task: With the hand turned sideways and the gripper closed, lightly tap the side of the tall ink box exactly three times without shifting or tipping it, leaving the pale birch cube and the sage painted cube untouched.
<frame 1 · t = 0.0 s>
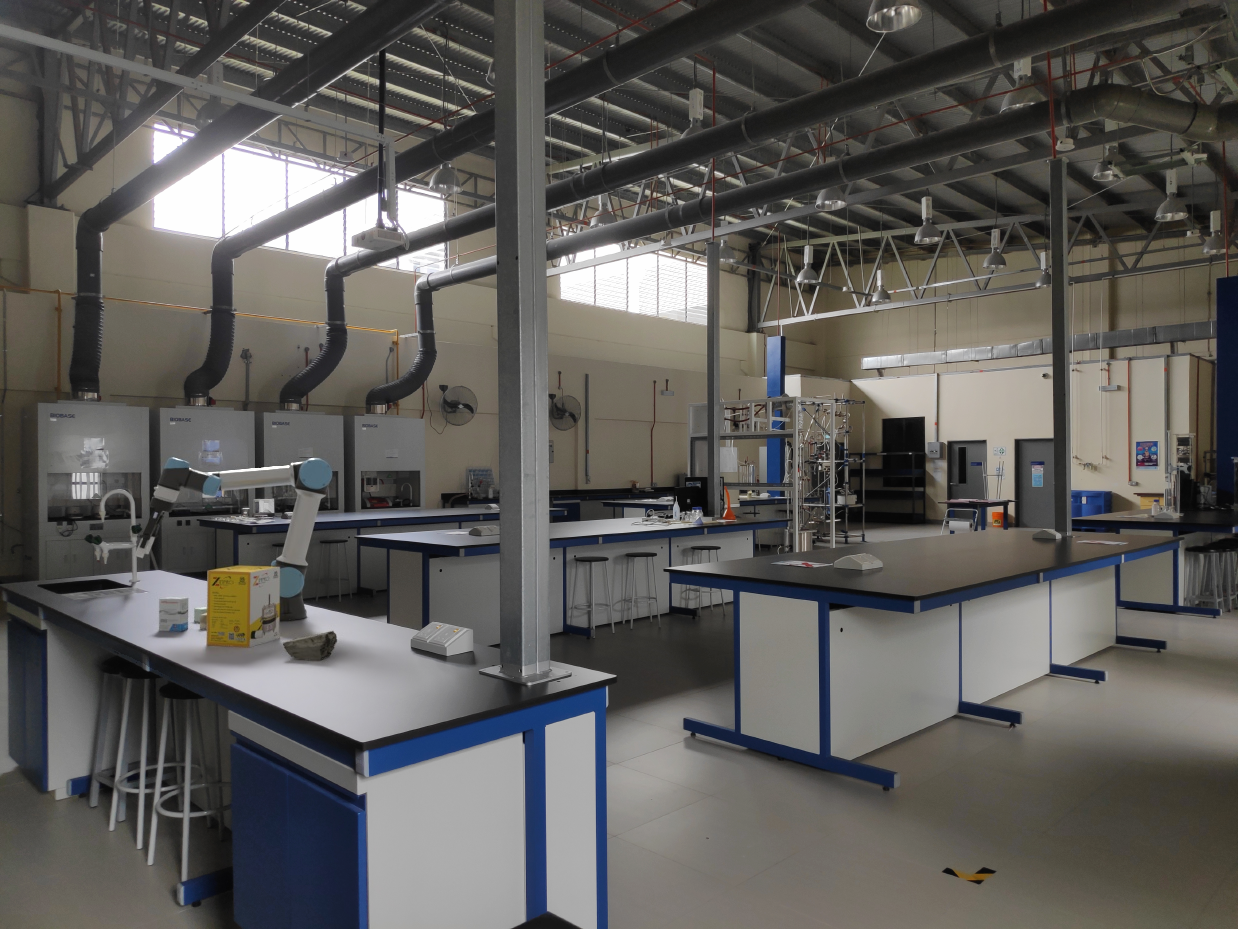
hand: (141, 555, 292), 28 cm above the table, fingers open, 13 cm apart
sage cube: (203, 620, 315), on the table
packaging box: (243, 642, 278), on the table
birch cube: (210, 627, 302), on the table
concrete fragment: (314, 657, 256), on the table
ink box: (173, 630, 296), on the table
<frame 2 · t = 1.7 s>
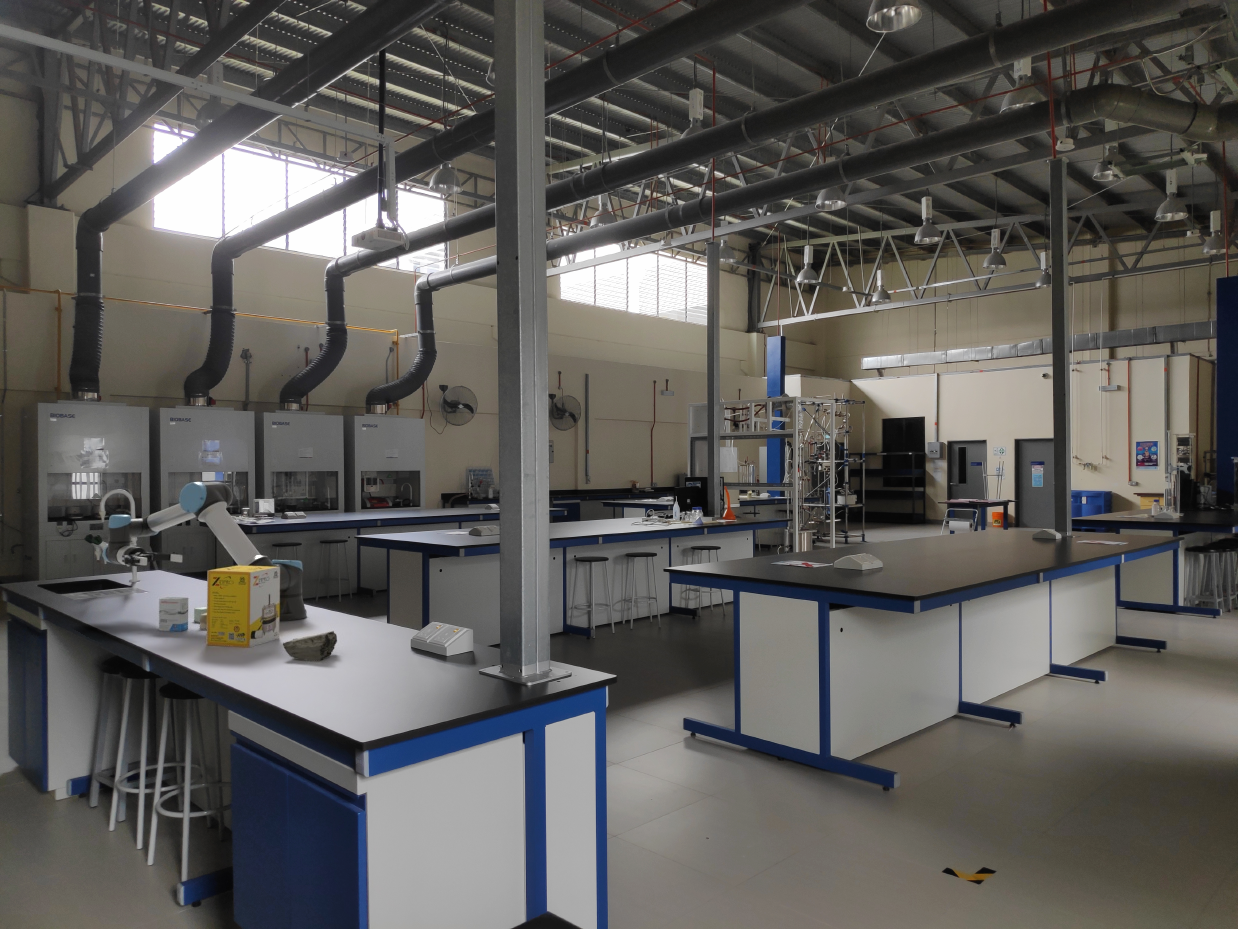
hand: (164, 560, 306), 24 cm above the table, fingers open, 13 cm apart
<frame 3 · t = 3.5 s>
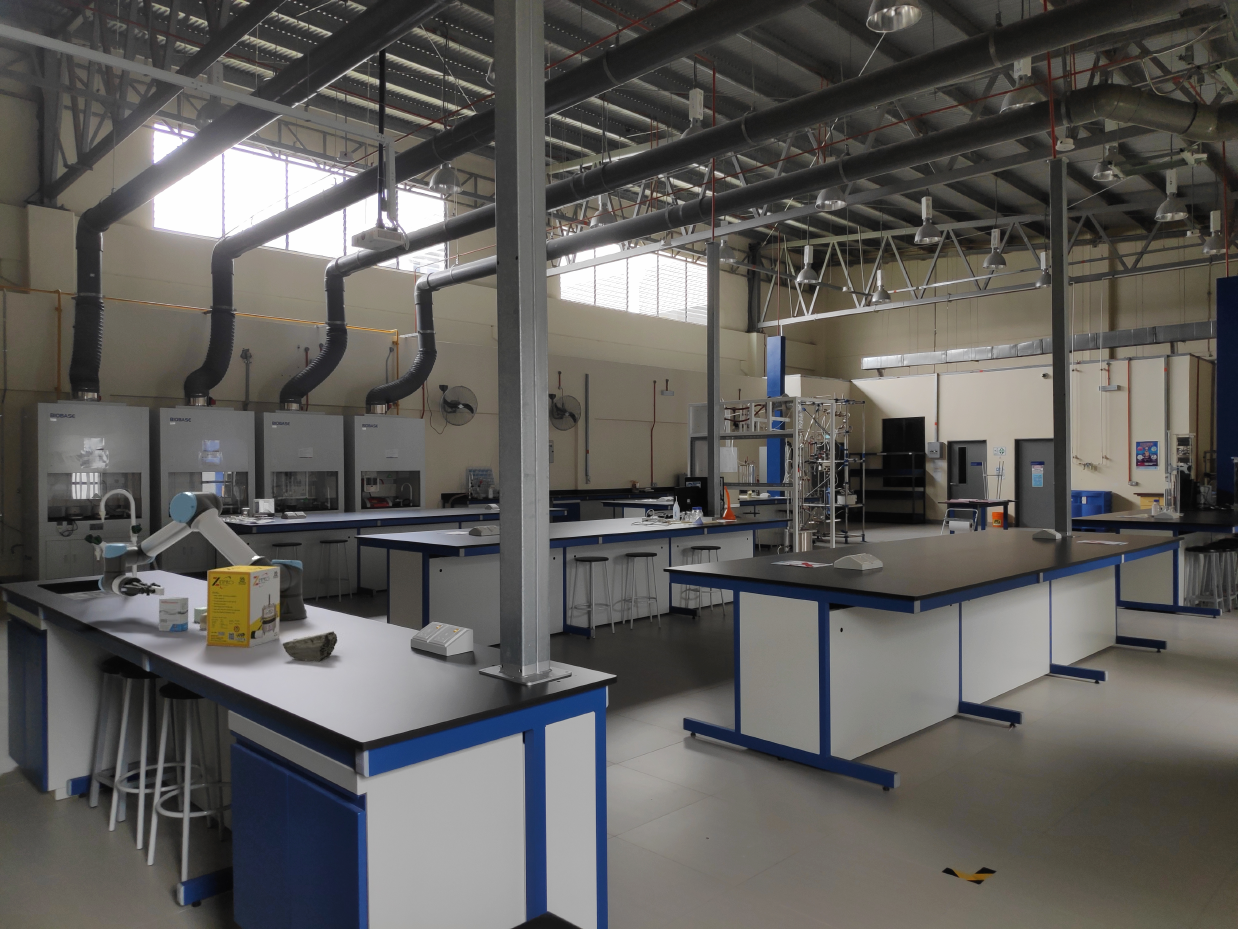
hand: (162, 591, 302), 13 cm above the table, fingers closed
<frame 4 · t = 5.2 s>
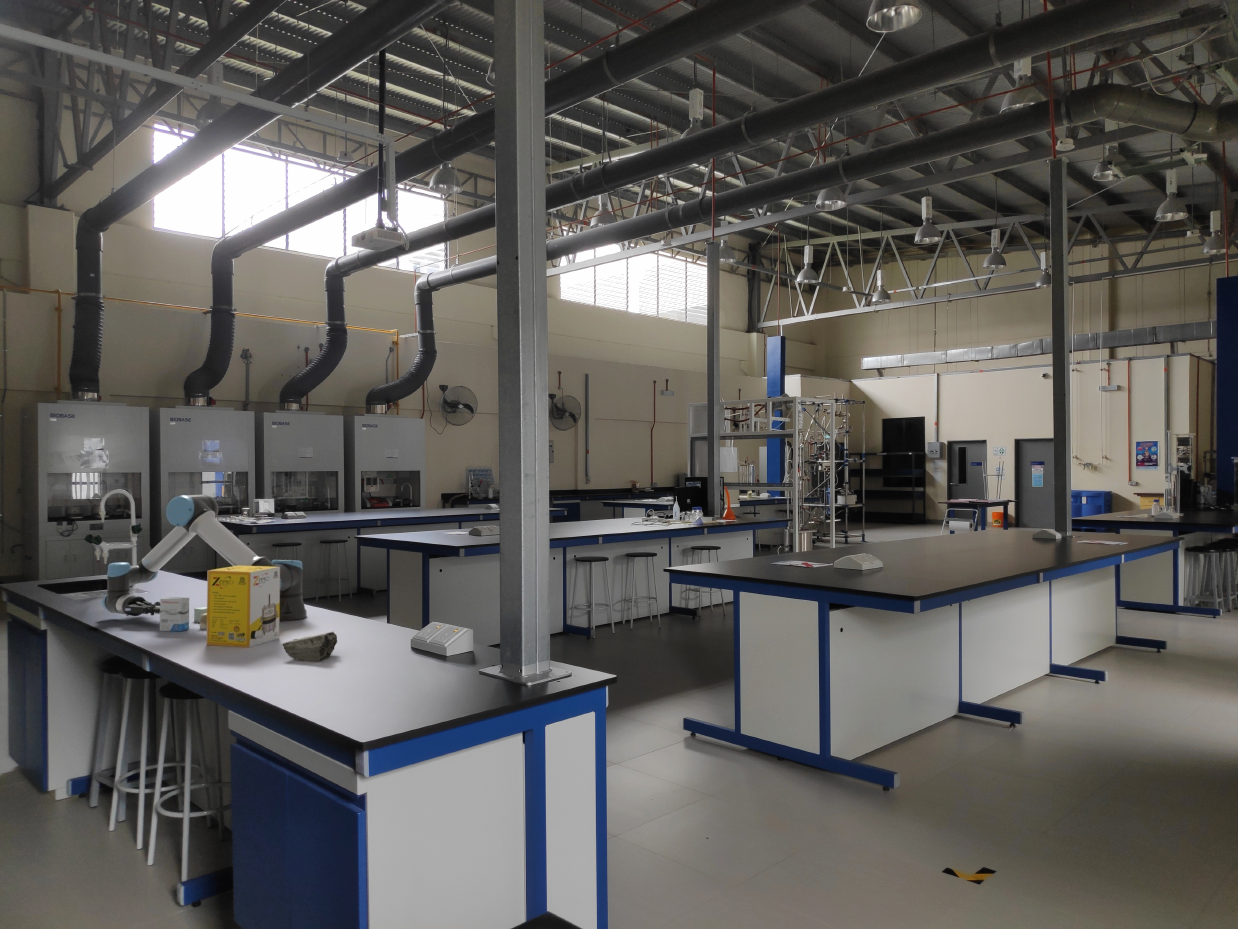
hand: (166, 611, 299), 6 cm above the table, fingers closed
ink box: (174, 630, 296), on the table, touching gripper
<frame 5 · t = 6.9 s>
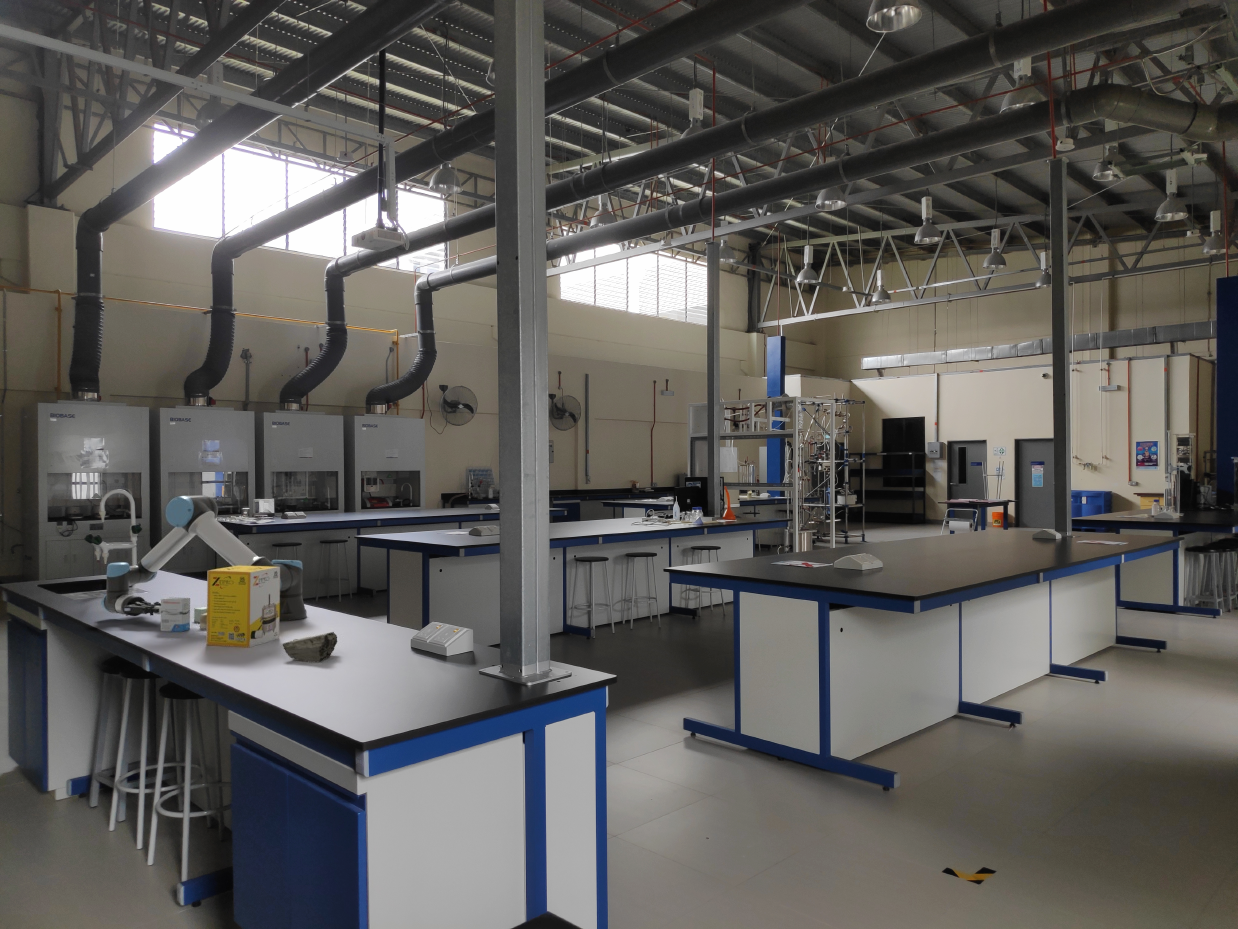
hand: (166, 611, 299), 6 cm above the table, fingers closed
ink box: (175, 630, 296), on the table
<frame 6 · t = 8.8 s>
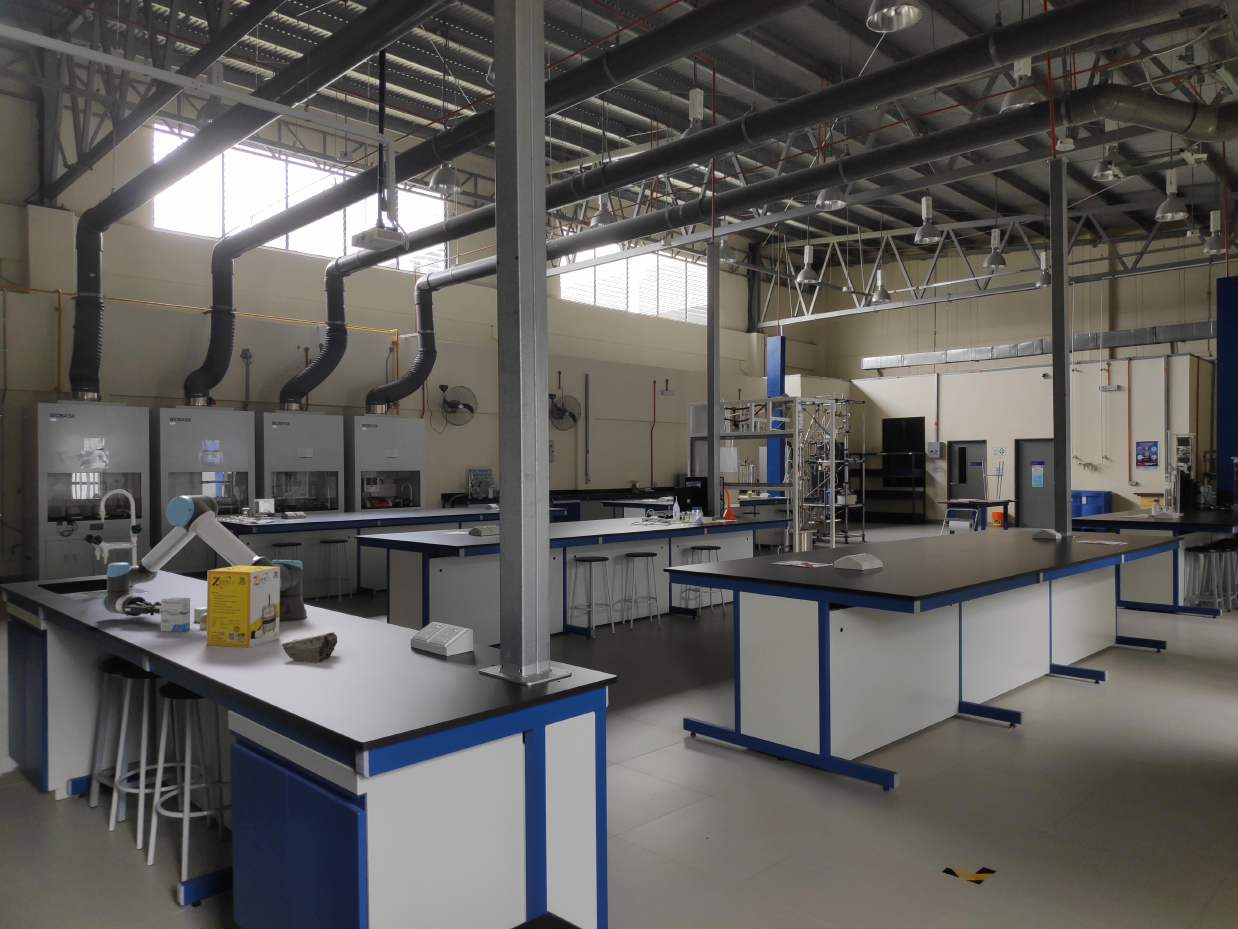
hand: (166, 611, 299), 6 cm above the table, fingers closed
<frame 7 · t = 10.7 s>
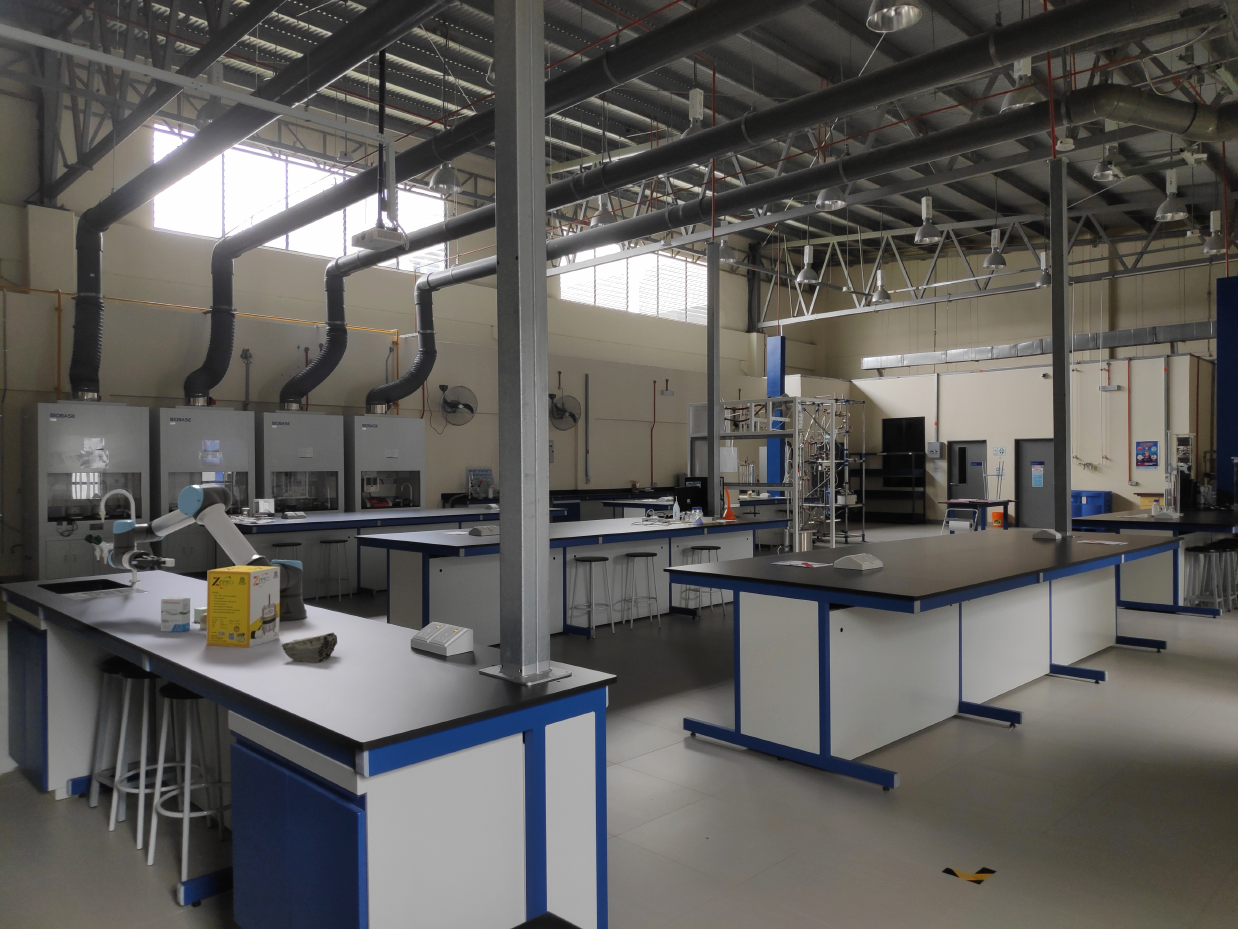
hand: (172, 562, 309), 23 cm above the table, fingers closed
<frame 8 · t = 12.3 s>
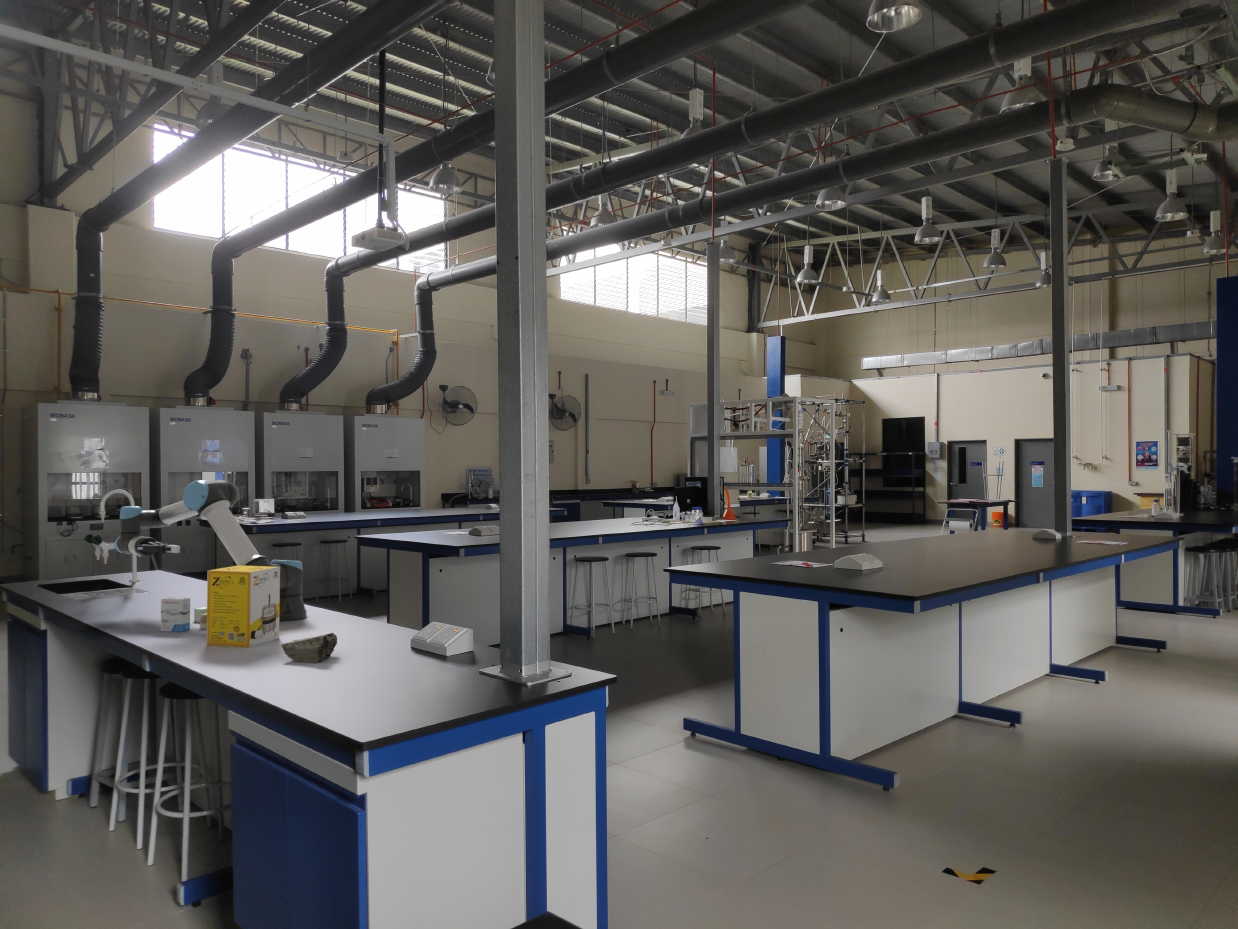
hand: (177, 549, 312), 28 cm above the table, fingers closed
at the end: ink box moved 1.1 cm from its start; ink box tilted 0°; sage cube moved 0.1 cm from its start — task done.
